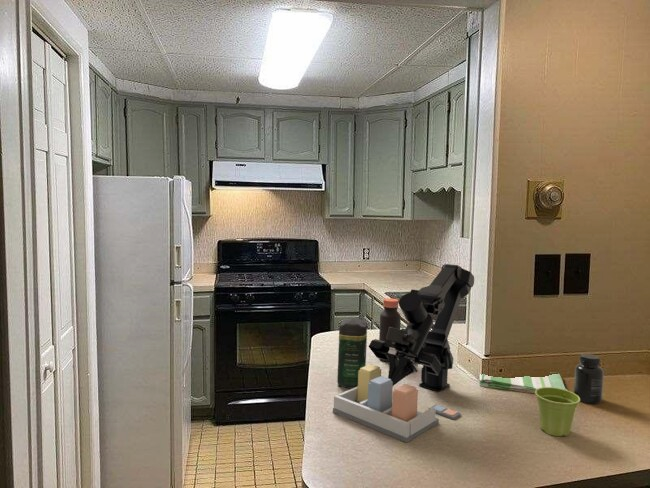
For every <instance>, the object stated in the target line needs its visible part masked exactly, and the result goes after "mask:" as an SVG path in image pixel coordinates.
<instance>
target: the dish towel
mask: <svg viewBox="0 0 650 488" xmlns="http://www.w3.org/2000/svg"><path fill="white" fill-rule="evenodd" d="M478 378H479V387H484V388H491V389H500V390H507V391H515V392H522V393H528V394H529V393H530V394H531V393H532V394H535V391H536V390H537V389H538V388H543V387H552V388H559V389H564V390H567V391H569V389H567V388H566V387H565V385H564V381H563V378H562V376H561V375H560V373H558V374H552V375H549V376H545V377H530V376H524V377H515V378H502V377H493V376H488V375H485V374H482V375H481V374H480V373H479V377H478Z"/></svg>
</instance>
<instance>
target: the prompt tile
mask: <svg viewBox="0 0 650 488" xmlns="http://www.w3.org/2000/svg"><path fill="white" fill-rule="evenodd" d="M431 408H436V413H435V415H439V416H443V417H445V418H447V419H451V420H456V419H457V418H460V417H461V415H462V412H459V411H456V410H453V409H451V408H447V407H444V406H441V405H438V404H434V405H432V406H431V407H429V408H428V410H429V409H431Z"/></svg>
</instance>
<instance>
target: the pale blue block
mask: <svg viewBox="0 0 650 488" xmlns="http://www.w3.org/2000/svg"><path fill="white" fill-rule="evenodd" d="M393 388H394V386H393V382H392V381H391V379H389V378H388V377H386V376H382V375H381V376H380V377H378V378H375V379H373V380H370V383H368V405H367V407H369V408H372V409H374V410H377V411H380V412H382V413H383V411H385V410H387V409H389V408H391V407H392V396H393Z"/></svg>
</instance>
